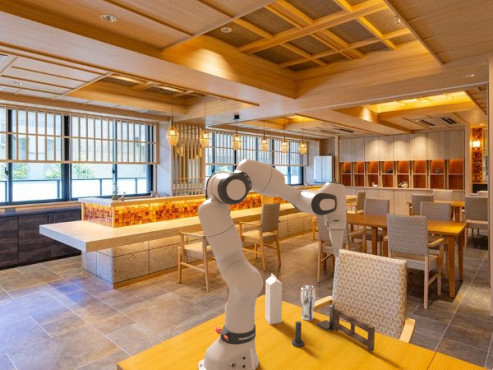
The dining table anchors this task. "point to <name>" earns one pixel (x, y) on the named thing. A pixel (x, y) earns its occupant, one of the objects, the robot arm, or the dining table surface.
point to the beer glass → (307, 302)
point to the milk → (273, 300)
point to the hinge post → (328, 324)
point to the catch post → (297, 335)
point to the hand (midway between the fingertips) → (335, 253)
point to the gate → (351, 333)
